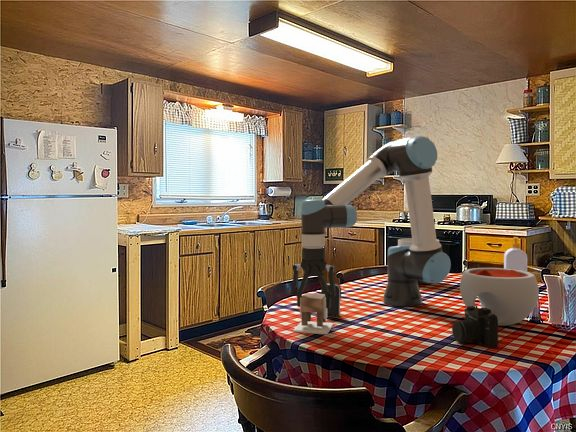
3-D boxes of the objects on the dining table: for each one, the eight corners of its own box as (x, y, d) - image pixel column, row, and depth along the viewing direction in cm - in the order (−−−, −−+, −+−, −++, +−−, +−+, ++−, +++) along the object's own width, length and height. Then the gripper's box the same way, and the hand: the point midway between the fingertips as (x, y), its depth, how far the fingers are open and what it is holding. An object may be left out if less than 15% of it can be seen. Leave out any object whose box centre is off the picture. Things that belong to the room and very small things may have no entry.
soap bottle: (524, 284, 219) (524, 236, 218) (527, 287, 212) (527, 238, 211) (503, 283, 221) (503, 236, 220) (505, 286, 215) (506, 237, 214)
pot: (555, 331, 143) (555, 274, 143) (481, 334, 142) (481, 276, 141) (511, 312, 167) (512, 263, 167) (448, 314, 165) (448, 265, 165)
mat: (333, 324, 153) (333, 323, 153) (327, 334, 143) (327, 332, 143) (301, 322, 156) (301, 320, 156) (293, 331, 146) (293, 329, 146)
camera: (443, 335, 141) (443, 303, 140) (476, 333, 142) (476, 301, 142) (466, 350, 127) (466, 314, 127) (502, 348, 128) (502, 313, 128)
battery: (342, 314, 166) (342, 283, 166) (339, 317, 163) (339, 285, 162) (324, 312, 169) (324, 282, 169) (320, 315, 166) (320, 283, 165)
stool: (326, 321, 152) (326, 294, 152) (322, 326, 145) (322, 298, 145) (306, 319, 154) (305, 293, 153) (300, 325, 147) (300, 297, 147)
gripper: (345, 246, 149) (346, 316, 150) (287, 245, 155) (287, 312, 156) (341, 249, 142) (342, 322, 143) (280, 247, 148) (281, 318, 149)
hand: (313, 317), depth 149 cm, fingers closed on stool, 7 cm apart
